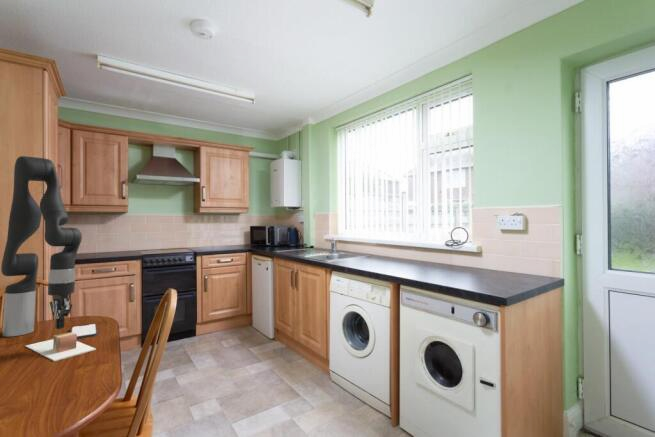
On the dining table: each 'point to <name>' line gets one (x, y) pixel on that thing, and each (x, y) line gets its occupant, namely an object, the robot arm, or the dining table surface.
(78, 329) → the phone case
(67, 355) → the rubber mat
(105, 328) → the dining table surface
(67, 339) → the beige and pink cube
